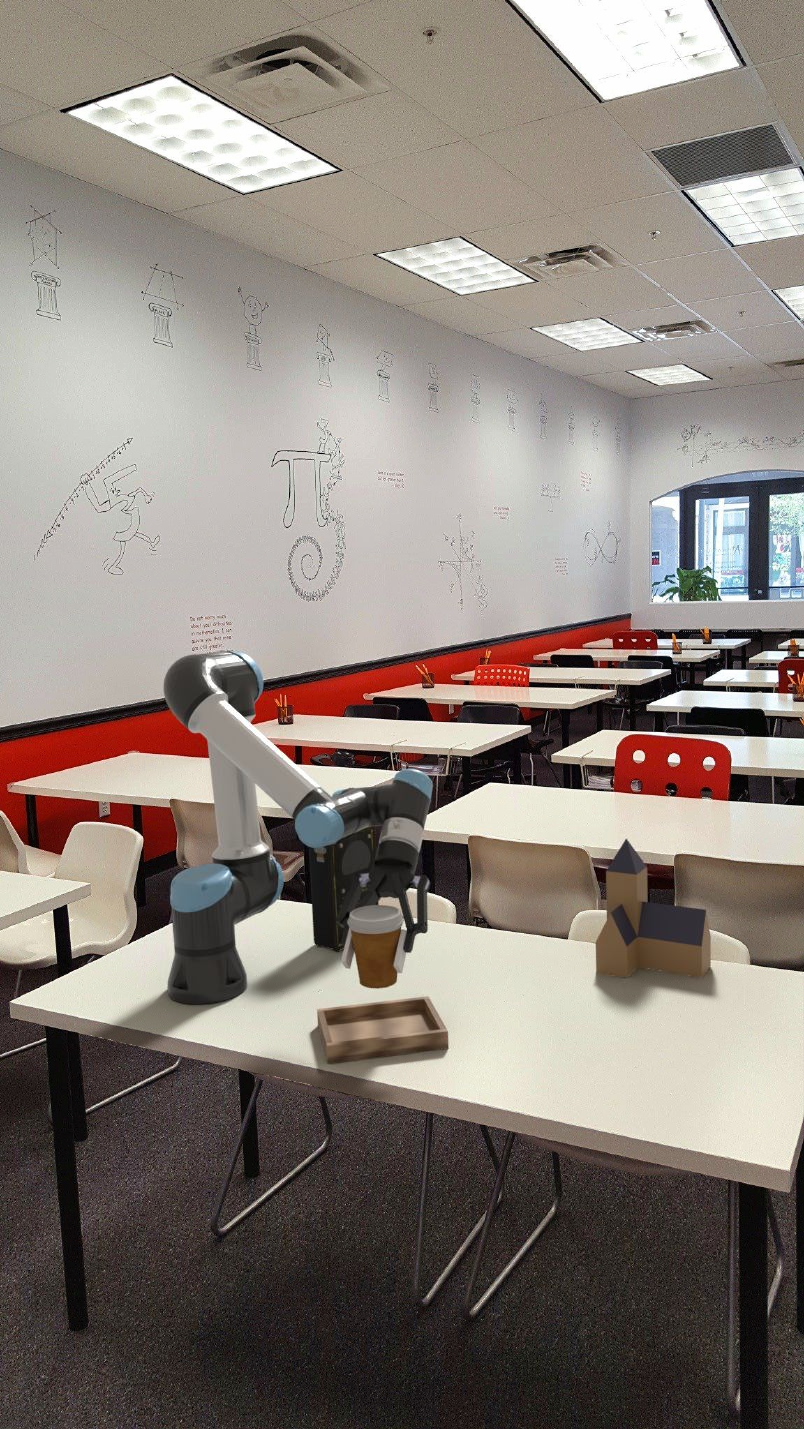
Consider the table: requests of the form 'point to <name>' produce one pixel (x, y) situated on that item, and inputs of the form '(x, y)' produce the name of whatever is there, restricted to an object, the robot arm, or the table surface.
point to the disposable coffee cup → (376, 943)
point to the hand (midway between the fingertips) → (371, 967)
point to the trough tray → (381, 1029)
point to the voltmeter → (337, 881)
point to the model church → (648, 926)
